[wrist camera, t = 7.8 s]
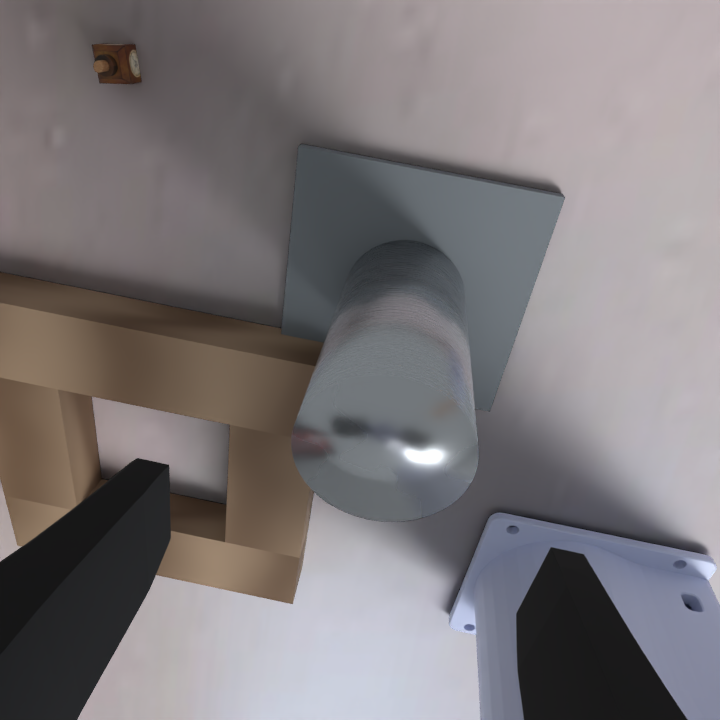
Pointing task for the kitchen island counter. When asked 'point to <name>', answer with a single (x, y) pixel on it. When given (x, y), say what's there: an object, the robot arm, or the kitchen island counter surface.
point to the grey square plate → (422, 224)
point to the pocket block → (166, 393)
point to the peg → (392, 390)
